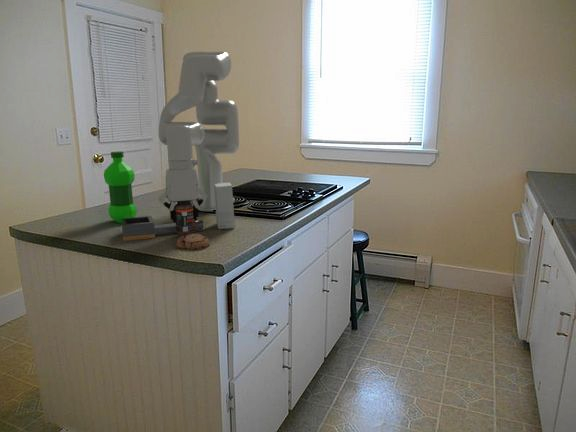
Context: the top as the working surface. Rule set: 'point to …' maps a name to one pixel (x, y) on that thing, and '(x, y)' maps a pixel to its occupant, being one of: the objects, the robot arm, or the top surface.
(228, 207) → the skincare box
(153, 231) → the grey long handled piece
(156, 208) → the top surface
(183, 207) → the supplement bottle
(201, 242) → the cookie
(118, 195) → the plastic bottle
